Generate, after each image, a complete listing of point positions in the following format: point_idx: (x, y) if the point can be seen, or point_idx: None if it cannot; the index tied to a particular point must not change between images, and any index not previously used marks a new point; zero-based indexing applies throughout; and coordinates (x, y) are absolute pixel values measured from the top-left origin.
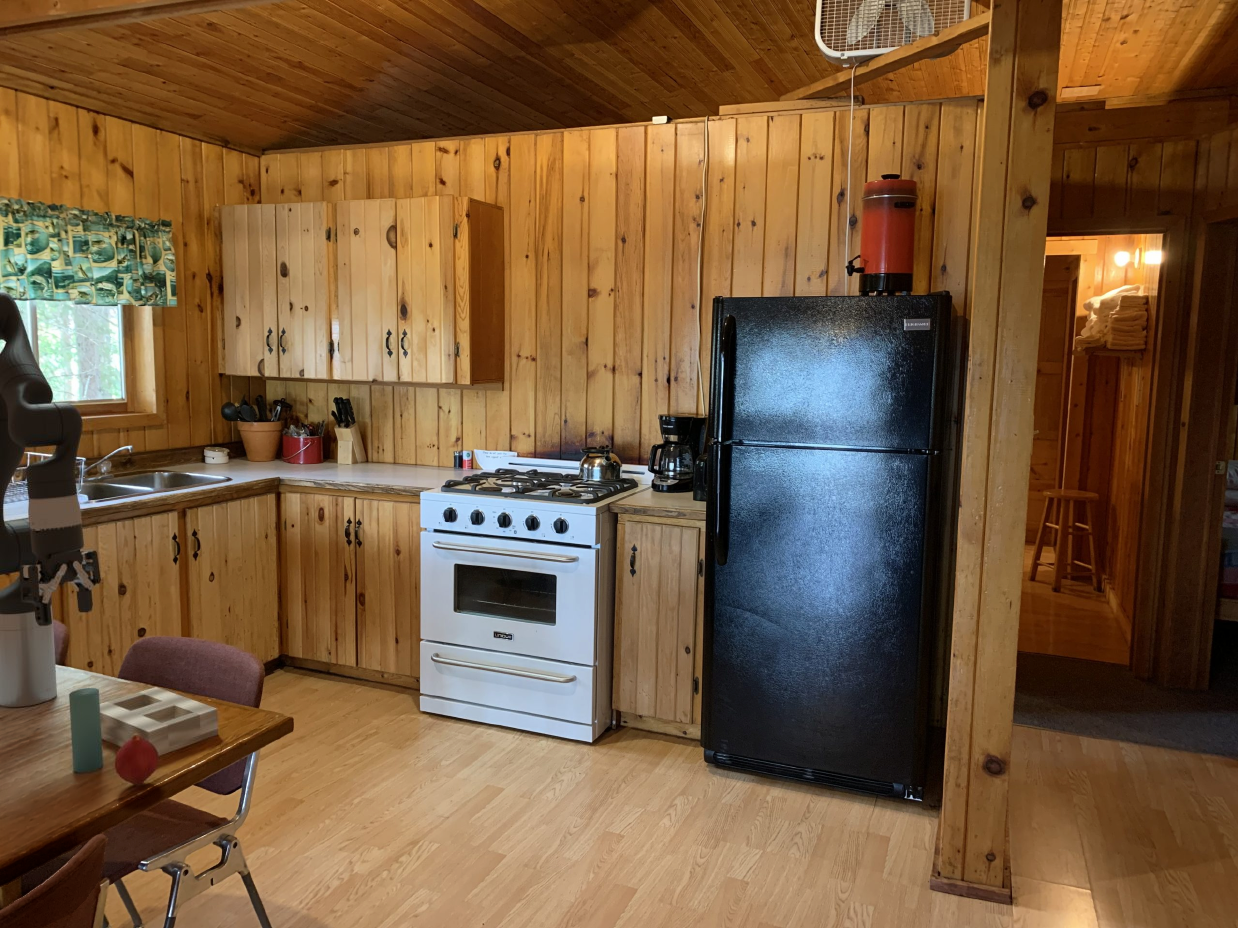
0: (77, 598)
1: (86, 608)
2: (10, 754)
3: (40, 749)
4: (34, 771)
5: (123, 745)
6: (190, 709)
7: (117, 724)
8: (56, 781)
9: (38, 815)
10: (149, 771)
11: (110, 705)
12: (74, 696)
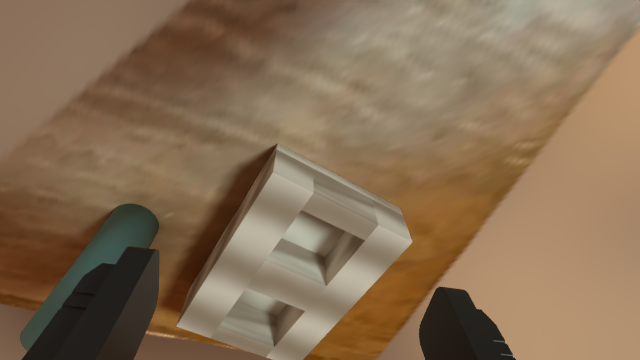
0: (473, 352)
1: (429, 339)
2: (138, 43)
3: (180, 94)
4: (87, 147)
5: None
6: (286, 338)
7: (220, 251)
8: (69, 205)
9: None
10: None
11: (291, 210)
12: (24, 340)
